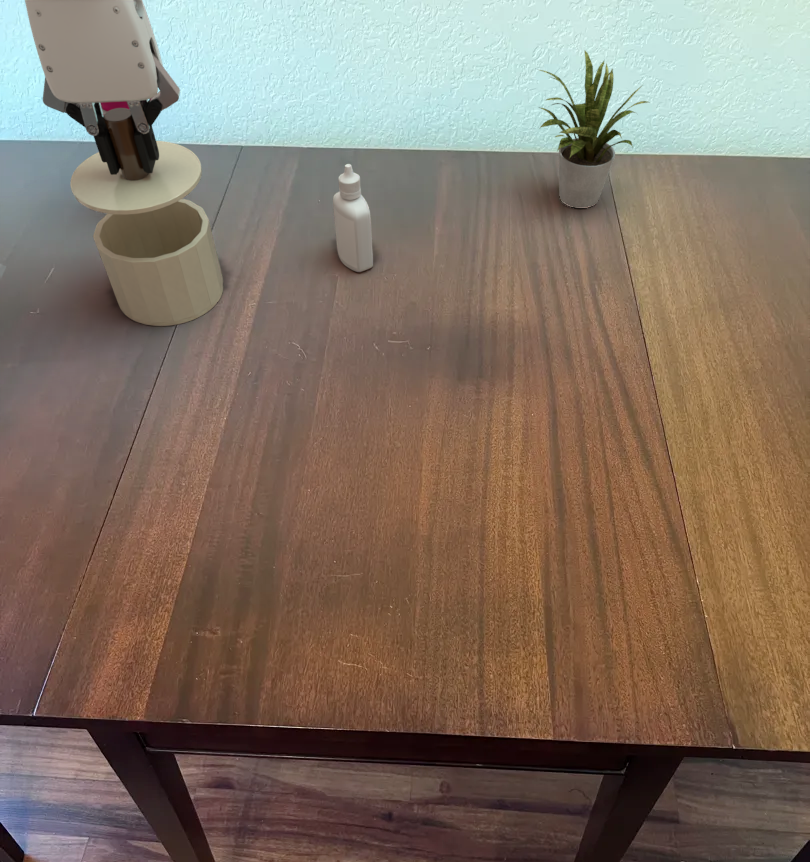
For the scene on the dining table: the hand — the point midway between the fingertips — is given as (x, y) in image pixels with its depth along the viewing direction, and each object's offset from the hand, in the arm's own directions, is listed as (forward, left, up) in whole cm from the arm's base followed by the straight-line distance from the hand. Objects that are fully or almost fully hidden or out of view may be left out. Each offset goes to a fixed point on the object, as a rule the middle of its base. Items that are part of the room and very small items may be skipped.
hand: (133, 165), depth 80 cm
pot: (0, 0, -16) cm, 16 cm away
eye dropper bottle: (+22, +5, -16) cm, 27 cm away
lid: (0, 0, -1) cm, 1 cm away
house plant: (+51, +18, -16) cm, 56 cm away
